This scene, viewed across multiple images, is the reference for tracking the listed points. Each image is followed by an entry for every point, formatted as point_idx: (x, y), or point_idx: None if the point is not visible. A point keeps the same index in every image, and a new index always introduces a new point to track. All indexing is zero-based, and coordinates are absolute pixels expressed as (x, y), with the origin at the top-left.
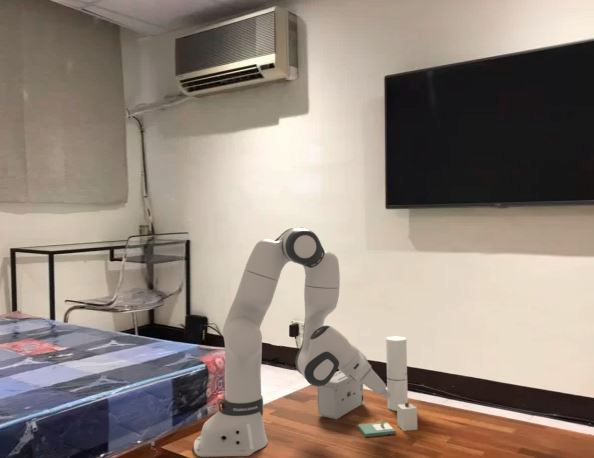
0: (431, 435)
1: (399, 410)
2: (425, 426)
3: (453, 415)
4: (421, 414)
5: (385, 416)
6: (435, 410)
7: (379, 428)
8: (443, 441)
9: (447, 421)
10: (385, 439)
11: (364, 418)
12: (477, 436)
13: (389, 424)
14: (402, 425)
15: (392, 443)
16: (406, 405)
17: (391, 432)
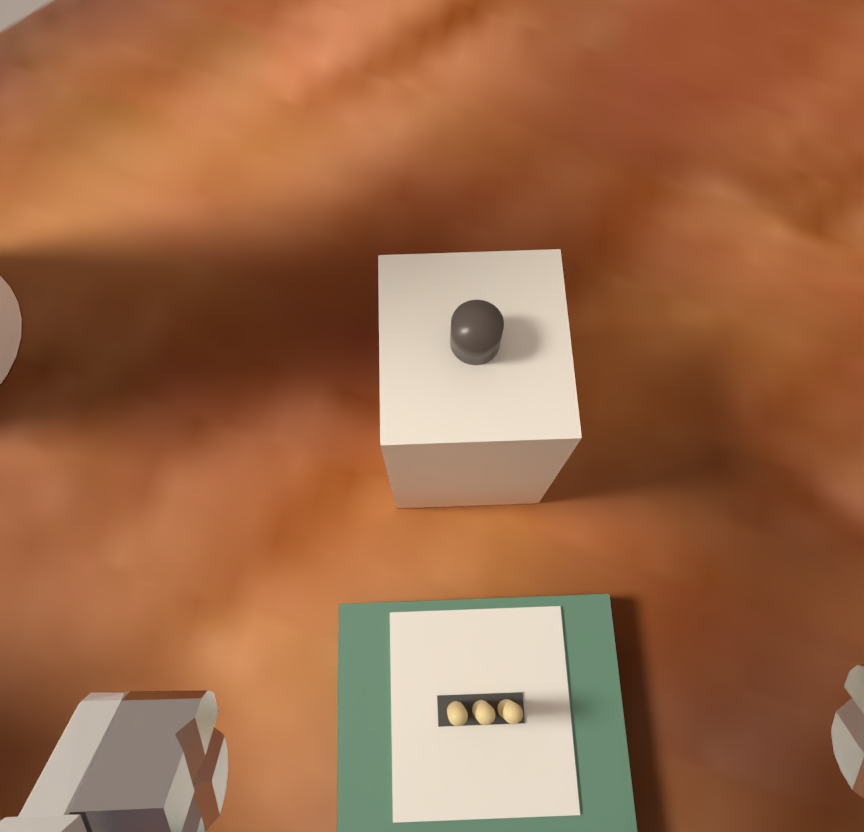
0: (672, 297)
1: (469, 456)
2: None
3: (284, 5)
4: (179, 207)
5: (106, 544)
6: (131, 79)
7: (528, 762)
8: (807, 255)
9: (395, 84)
10: (734, 756)
11: None
12: (723, 15)
13: (422, 601)
14: (542, 490)
15: None
16: (497, 345)
17: (612, 644)
